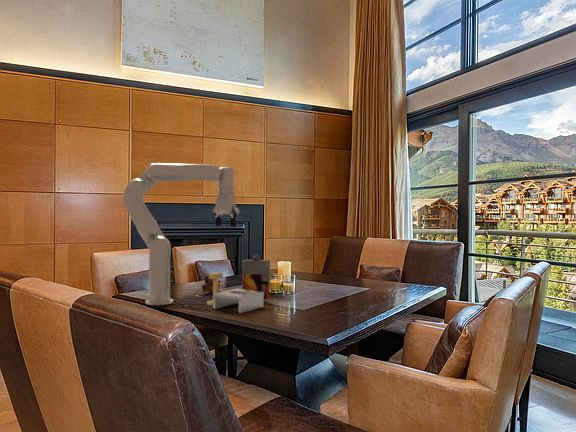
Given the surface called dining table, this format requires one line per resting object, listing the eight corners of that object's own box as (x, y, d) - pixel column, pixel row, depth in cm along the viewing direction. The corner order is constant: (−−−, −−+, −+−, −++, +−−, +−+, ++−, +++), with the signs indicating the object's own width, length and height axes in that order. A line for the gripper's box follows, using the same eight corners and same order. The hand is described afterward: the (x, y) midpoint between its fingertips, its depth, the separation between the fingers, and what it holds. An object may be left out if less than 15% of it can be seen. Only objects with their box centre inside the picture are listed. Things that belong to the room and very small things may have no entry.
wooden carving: (208, 295, 218) (208, 276, 218) (200, 294, 219) (200, 275, 219) (222, 290, 234) (222, 272, 234) (214, 289, 235) (214, 271, 235)
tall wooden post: (206, 304, 194) (207, 273, 194) (218, 302, 201) (219, 272, 201) (212, 305, 192) (212, 274, 192) (224, 302, 199) (224, 272, 199)
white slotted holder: (213, 308, 186) (213, 293, 186) (236, 302, 200) (236, 288, 200) (240, 313, 177) (240, 297, 177) (263, 306, 191) (263, 291, 191)
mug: (268, 302, 201) (268, 277, 201) (240, 301, 203) (240, 276, 204) (272, 298, 211) (272, 274, 211) (245, 297, 213) (246, 273, 213)
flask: (241, 293, 224) (241, 256, 224) (242, 291, 229) (243, 255, 230) (269, 293, 223) (269, 256, 223) (269, 291, 229) (270, 255, 229)
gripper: (208, 192, 211) (207, 226, 211) (234, 191, 201) (233, 226, 201) (218, 192, 217) (218, 225, 217) (244, 191, 208) (243, 226, 208)
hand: (225, 226), depth 209 cm, fingers open, 9 cm apart
